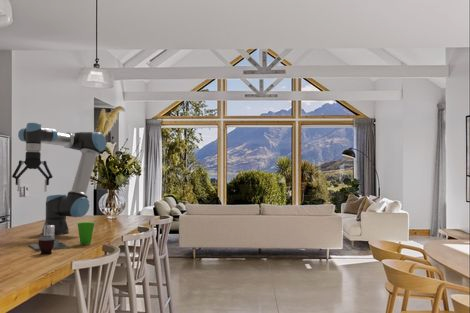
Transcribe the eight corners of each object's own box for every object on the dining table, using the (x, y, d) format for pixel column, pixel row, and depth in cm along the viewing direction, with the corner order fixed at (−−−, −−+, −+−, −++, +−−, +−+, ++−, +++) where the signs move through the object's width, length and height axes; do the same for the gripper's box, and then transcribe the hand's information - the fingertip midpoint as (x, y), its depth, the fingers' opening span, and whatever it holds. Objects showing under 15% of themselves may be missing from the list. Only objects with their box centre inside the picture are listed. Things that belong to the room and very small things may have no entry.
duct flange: (61, 244, 281) (61, 237, 281) (69, 248, 268) (69, 241, 268) (29, 246, 273) (29, 239, 273) (35, 250, 259) (36, 243, 259)
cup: (97, 243, 286) (98, 222, 286) (87, 245, 277) (88, 224, 277) (83, 242, 289) (83, 221, 289) (72, 244, 280) (73, 223, 280)
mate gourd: (47, 251, 256) (47, 220, 256) (58, 253, 252) (59, 221, 252) (34, 254, 249) (34, 221, 250) (45, 255, 245) (46, 222, 246)
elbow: (44, 245, 271) (44, 225, 271) (54, 244, 272) (55, 225, 273) (42, 247, 264) (42, 227, 264) (52, 247, 265) (53, 226, 265)
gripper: (6, 150, 283) (5, 191, 283) (56, 152, 288) (55, 191, 288) (9, 151, 291) (8, 190, 290) (58, 152, 296) (57, 191, 295)
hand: (32, 191), depth 289 cm, fingers open, 13 cm apart
